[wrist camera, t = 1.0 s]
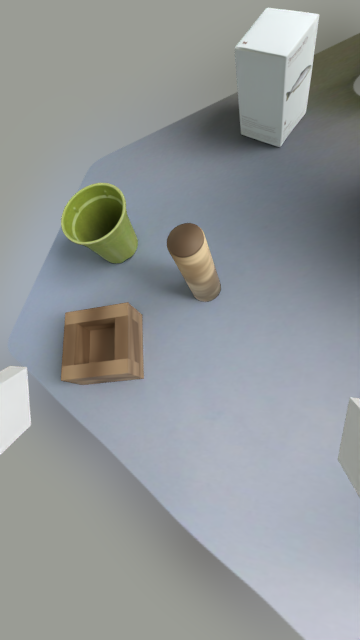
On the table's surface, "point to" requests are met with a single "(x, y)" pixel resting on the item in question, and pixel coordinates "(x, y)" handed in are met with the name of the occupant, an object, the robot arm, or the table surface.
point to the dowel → (194, 261)
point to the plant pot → (100, 222)
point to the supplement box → (275, 73)
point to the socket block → (103, 345)
